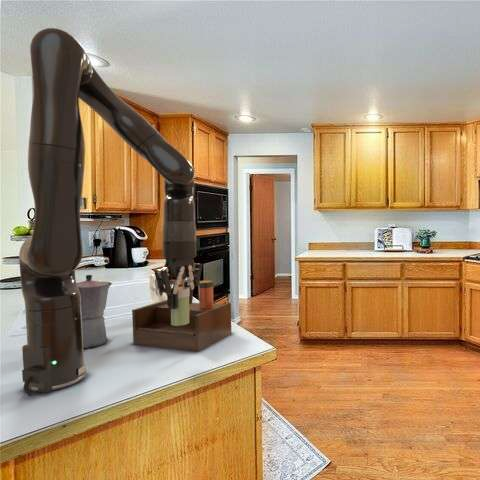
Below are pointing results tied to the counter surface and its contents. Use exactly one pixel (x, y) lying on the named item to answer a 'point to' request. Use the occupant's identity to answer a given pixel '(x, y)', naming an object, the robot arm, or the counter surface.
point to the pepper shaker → (205, 294)
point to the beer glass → (156, 291)
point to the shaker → (181, 308)
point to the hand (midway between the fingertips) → (180, 305)
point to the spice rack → (185, 336)
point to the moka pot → (93, 311)
